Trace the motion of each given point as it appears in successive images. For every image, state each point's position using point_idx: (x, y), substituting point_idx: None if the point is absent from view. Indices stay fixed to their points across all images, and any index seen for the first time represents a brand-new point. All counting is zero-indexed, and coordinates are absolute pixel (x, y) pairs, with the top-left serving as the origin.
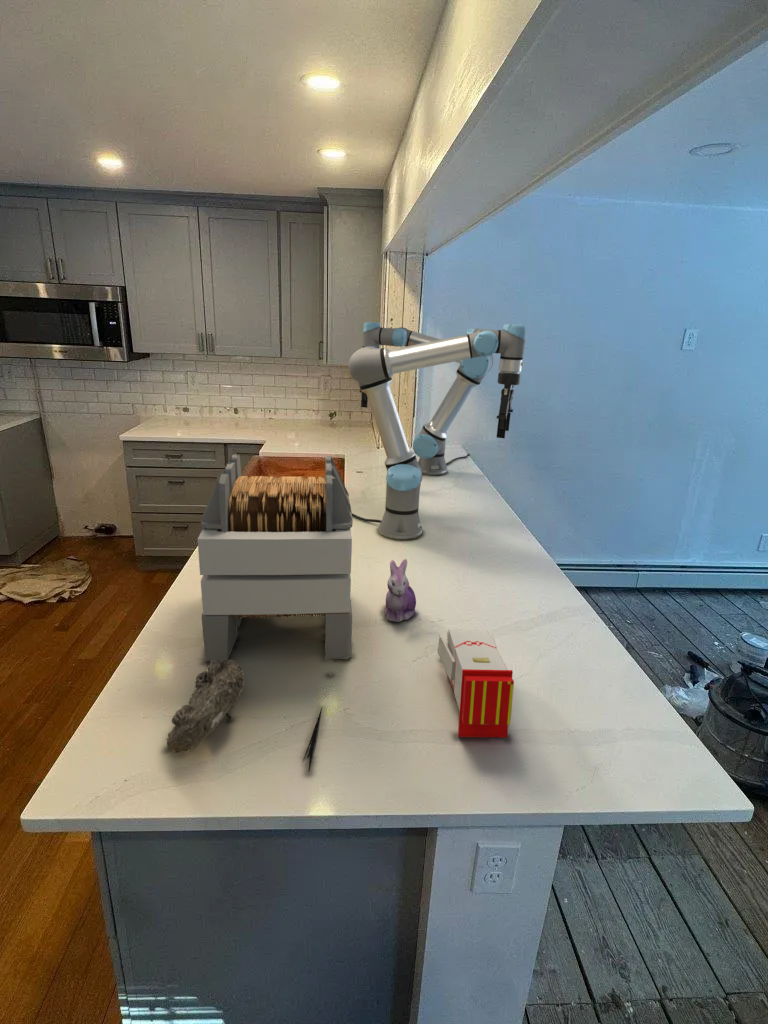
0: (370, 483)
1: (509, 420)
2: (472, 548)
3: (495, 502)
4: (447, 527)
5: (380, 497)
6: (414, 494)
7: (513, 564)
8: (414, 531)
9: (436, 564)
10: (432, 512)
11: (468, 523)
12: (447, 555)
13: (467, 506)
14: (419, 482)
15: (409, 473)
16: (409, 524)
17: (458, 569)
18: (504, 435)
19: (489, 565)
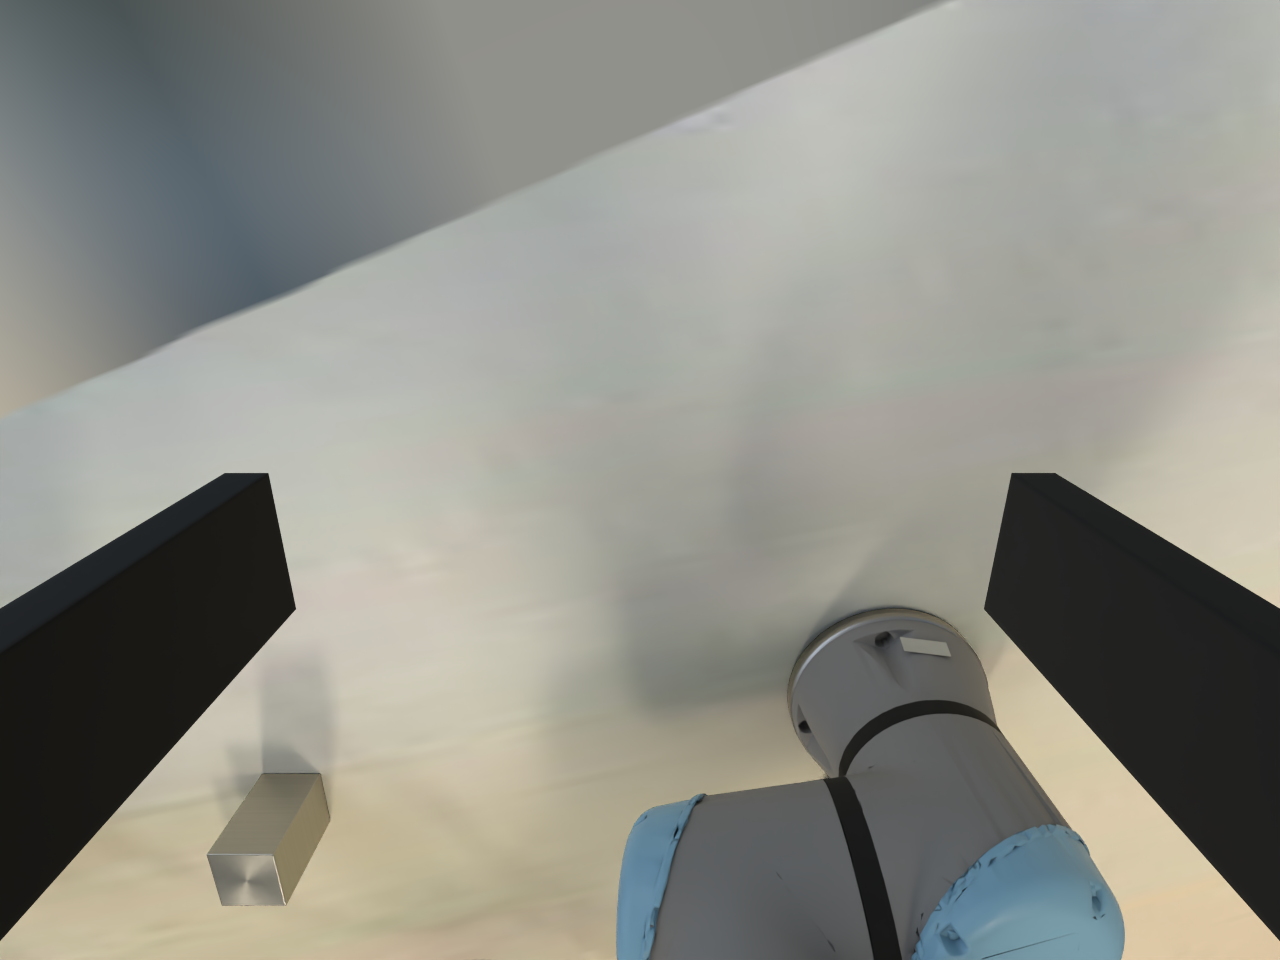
0: (304, 935)
1: (107, 586)
2: (991, 365)
3: (206, 343)
4: (746, 523)
5: (474, 856)
6: (1039, 793)
7: (1161, 129)
8: (960, 645)
9: (1207, 484)
10: (565, 625)
11: (647, 437)
12: (1100, 459)
13: (378, 485)
14: (1037, 836)
15: (1079, 940)
16: (981, 687)
17: (1252, 386)
18: (1088, 500)
19: (1190, 253)
